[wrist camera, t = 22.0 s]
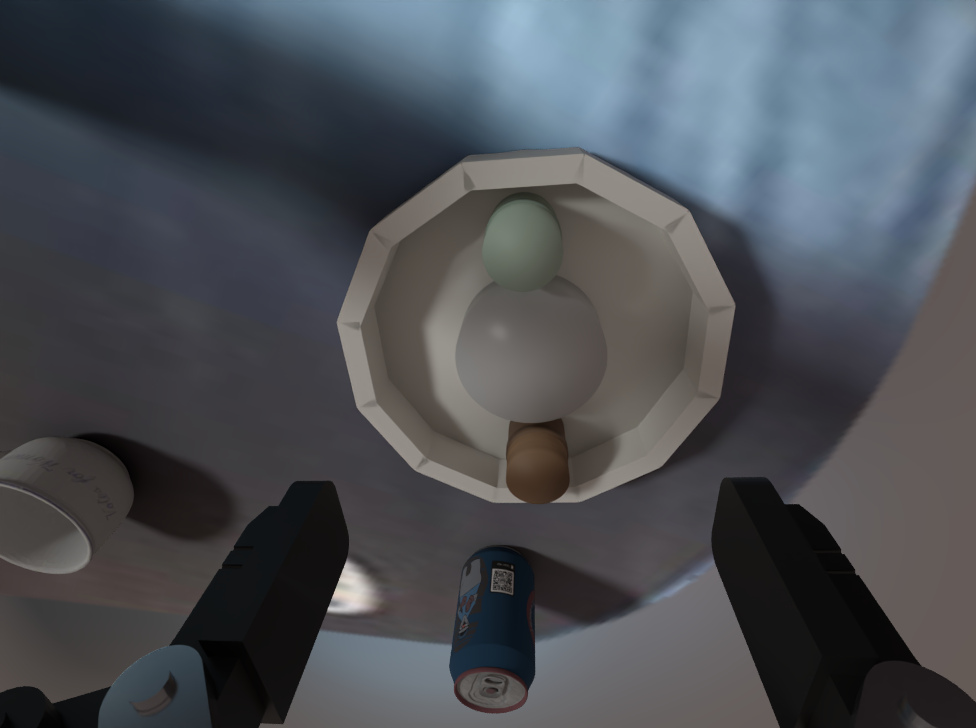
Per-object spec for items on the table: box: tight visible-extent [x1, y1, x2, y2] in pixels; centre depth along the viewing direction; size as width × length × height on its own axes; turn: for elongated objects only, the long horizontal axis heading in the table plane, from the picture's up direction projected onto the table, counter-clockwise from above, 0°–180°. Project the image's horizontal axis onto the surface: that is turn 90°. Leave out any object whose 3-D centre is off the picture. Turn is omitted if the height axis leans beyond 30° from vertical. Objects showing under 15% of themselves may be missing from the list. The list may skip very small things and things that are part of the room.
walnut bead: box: [506, 418, 570, 504], centre depth 38 cm, size 5×5×6 cm
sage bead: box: [482, 192, 563, 292], centre depth 30 cm, size 5×5×6 cm
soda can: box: [449, 545, 535, 713], centre depth 44 cm, size 7×7×12 cm
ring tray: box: [337, 147, 735, 503], centre depth 35 cm, size 25×25×4 cm
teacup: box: [0, 437, 134, 574], centre depth 43 cm, size 14×11×8 cm
